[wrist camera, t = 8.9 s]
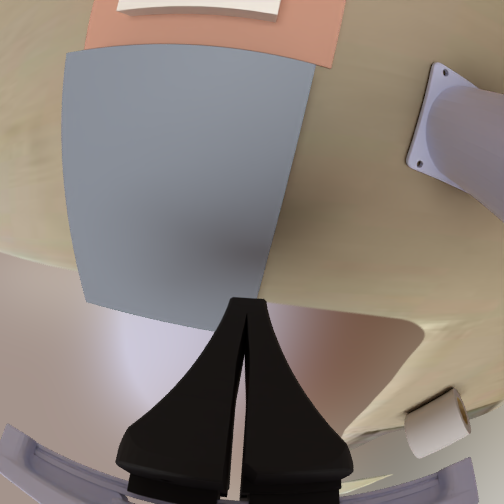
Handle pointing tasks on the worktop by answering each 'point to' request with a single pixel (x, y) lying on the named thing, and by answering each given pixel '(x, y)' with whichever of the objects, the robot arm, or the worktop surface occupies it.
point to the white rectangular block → (203, 8)
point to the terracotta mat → (227, 30)
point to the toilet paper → (437, 424)
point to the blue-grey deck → (177, 173)
